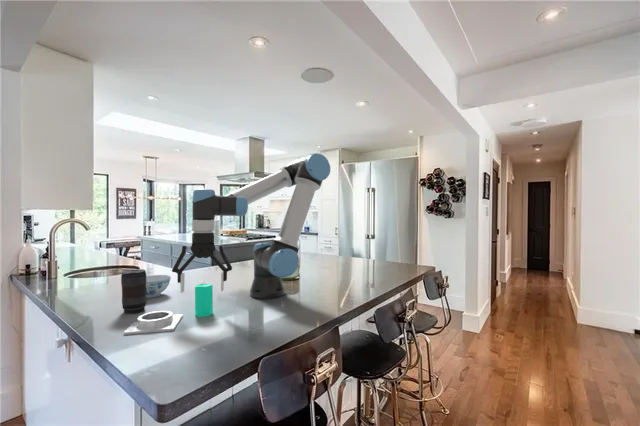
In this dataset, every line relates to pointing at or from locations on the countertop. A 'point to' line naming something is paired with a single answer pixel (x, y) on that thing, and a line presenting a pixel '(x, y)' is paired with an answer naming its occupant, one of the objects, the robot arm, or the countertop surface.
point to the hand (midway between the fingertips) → (202, 291)
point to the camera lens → (133, 291)
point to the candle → (203, 300)
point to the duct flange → (154, 323)
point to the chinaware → (156, 284)
